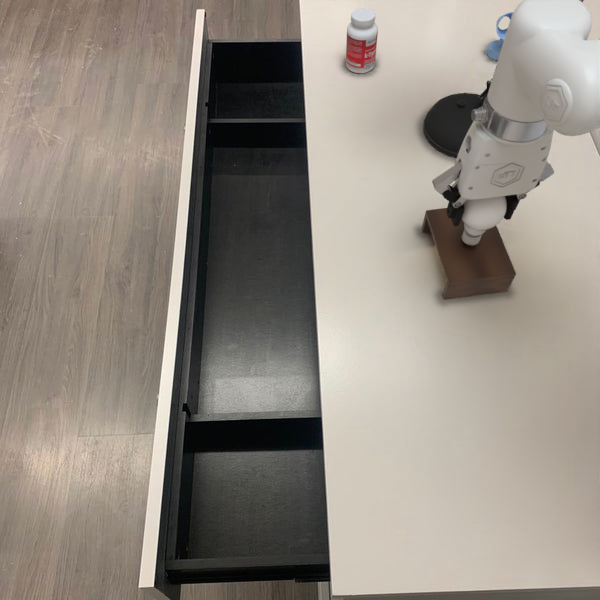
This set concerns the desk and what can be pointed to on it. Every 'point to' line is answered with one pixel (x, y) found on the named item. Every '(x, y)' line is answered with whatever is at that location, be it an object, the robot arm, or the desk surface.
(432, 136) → the desk lamp
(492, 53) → the spotlight
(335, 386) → the desk surface
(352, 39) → the pill bottle
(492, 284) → the brown wooden stand
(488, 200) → the lightbulb
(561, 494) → the desk surface
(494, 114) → the robot arm
